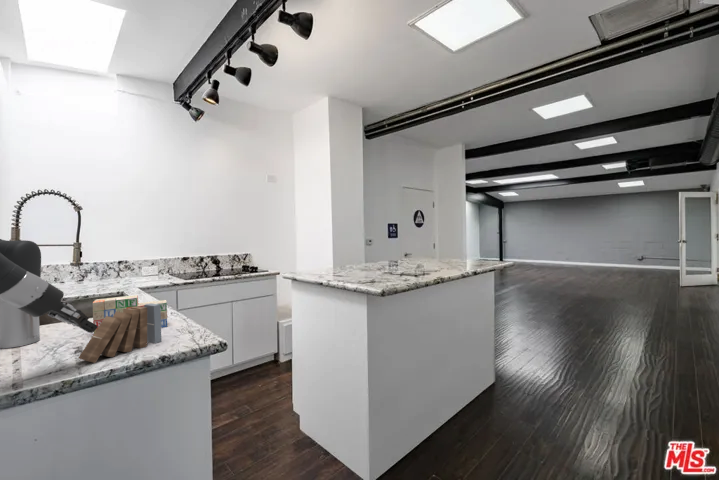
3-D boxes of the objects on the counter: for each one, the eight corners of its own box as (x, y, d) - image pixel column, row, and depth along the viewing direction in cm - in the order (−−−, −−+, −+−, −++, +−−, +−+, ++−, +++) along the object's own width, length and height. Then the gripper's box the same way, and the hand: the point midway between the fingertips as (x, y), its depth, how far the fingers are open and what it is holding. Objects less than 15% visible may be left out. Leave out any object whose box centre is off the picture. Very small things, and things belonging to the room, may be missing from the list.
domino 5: (155, 343, 98) (154, 306, 98) (145, 341, 100) (144, 304, 100) (161, 341, 100) (160, 304, 100) (151, 339, 102) (150, 303, 102)
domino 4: (140, 348, 94) (140, 308, 94) (130, 345, 96) (130, 307, 96) (147, 346, 96) (147, 307, 96) (137, 344, 98) (137, 306, 98)
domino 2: (106, 356, 86) (125, 313, 91) (96, 353, 88) (115, 311, 93) (114, 356, 88) (132, 314, 92) (104, 354, 90) (122, 312, 94)
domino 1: (87, 361, 82) (115, 317, 88) (77, 358, 85) (105, 315, 90) (95, 363, 84) (122, 320, 90) (85, 359, 86) (112, 318, 92)
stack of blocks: (167, 323, 121) (166, 292, 121) (167, 327, 116) (166, 294, 116) (96, 333, 110) (95, 298, 110) (93, 338, 105) (92, 302, 104)
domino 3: (123, 352, 90) (133, 310, 93) (114, 349, 92) (123, 308, 95) (131, 351, 92) (140, 310, 94) (121, 348, 94) (130, 308, 96)
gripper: (3, 304, 75) (69, 339, 86) (28, 310, 69) (95, 345, 81) (33, 279, 79) (92, 315, 91) (58, 282, 74) (118, 320, 85)
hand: (93, 329), depth 86 cm, fingers closed
